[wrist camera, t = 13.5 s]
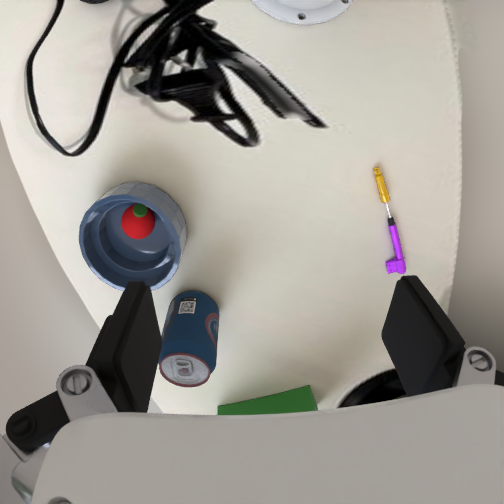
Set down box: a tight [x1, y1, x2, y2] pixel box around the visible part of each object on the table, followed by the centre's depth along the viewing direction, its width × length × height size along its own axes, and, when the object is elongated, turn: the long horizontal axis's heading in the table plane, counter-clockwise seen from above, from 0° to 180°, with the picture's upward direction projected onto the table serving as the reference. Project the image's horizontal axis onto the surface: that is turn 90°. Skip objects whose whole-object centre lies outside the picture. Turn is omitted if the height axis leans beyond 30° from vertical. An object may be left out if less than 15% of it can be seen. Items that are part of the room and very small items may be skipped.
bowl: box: [79, 182, 187, 291], centre depth 36 cm, size 12×12×5 cm
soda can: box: [158, 291, 219, 387], centre depth 39 cm, size 7×7×12 cm
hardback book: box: [217, 385, 318, 415], centre depth 45 cm, size 18×7×24 cm, turn 109°
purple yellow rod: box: [374, 167, 406, 274], centre depth 39 cm, size 3×1×16 cm
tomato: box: [121, 204, 155, 239], centre depth 35 cm, size 4×4×4 cm
